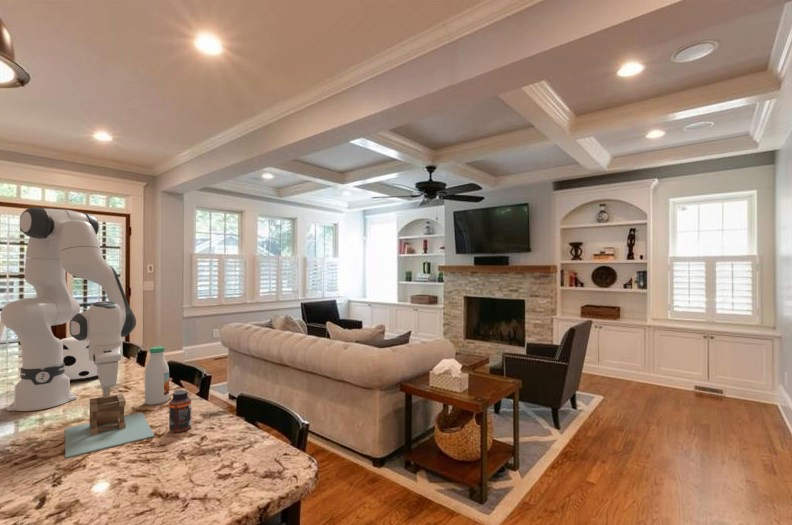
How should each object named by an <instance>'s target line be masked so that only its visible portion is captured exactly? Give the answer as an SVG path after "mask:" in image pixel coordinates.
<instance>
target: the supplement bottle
mask: <svg viewBox="0 0 792 525" xmlns="http://www.w3.org/2000/svg"><path fill="white" fill-rule="evenodd" d="M188 395H189V394H188V390H186V389H185V390H183V389H182V390H177V391H174V392H172V399H171V400H169V403H168V404H169V405H168V409H169V410H168V411H169V412H168V413H169V414H168V416H169V417H168V418H169V419H168V421H169V422H168V423H169V424H168V427H169V431H170V432H171V433H182V432H185V431H188V430H190V429H191V427H192V399H191V398H190V397H189V396H188Z"/></svg>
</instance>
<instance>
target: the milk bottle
mask: <svg viewBox="0 0 792 525" xmlns="http://www.w3.org/2000/svg"><path fill="white" fill-rule="evenodd" d="M164 353H165V346H154V347H150V348H149V355H150V357H149V360H148V363H147V365H146V366H145V371H144V404H146V405H149V406H150V405H151V406H156V405H160V404H164V403H167V402H168V401H170V369H169V368H170V367H169V364H168V363H167V361H166V358H165V356H164V355H165V354H164Z"/></svg>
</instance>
